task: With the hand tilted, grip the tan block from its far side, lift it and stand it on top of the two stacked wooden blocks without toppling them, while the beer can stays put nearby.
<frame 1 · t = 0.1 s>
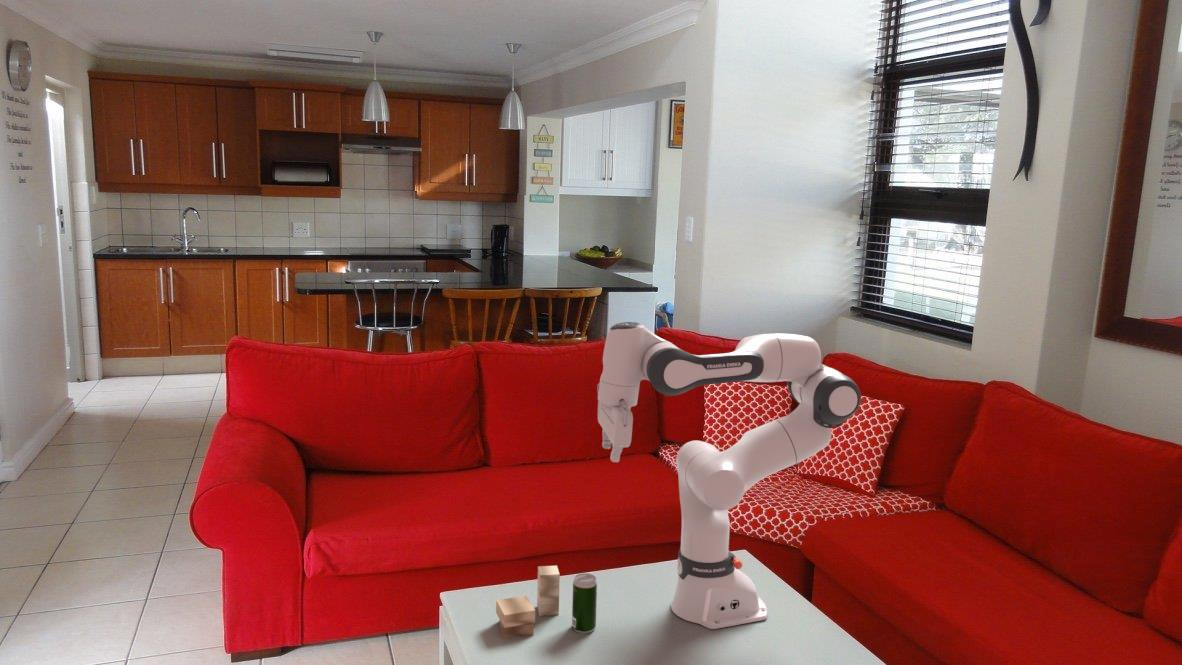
hand: (610, 454, 188), 39 cm above the table, tool pointing down, fingers open, 8 cm apart
oak block: (515, 617, 187), point 3 cm above the table, touching light brown flat block
light brown flat block: (516, 629, 188), on the table, touching oak block
tan block: (547, 610, 196), on the table
beer can: (583, 629, 188), on the table
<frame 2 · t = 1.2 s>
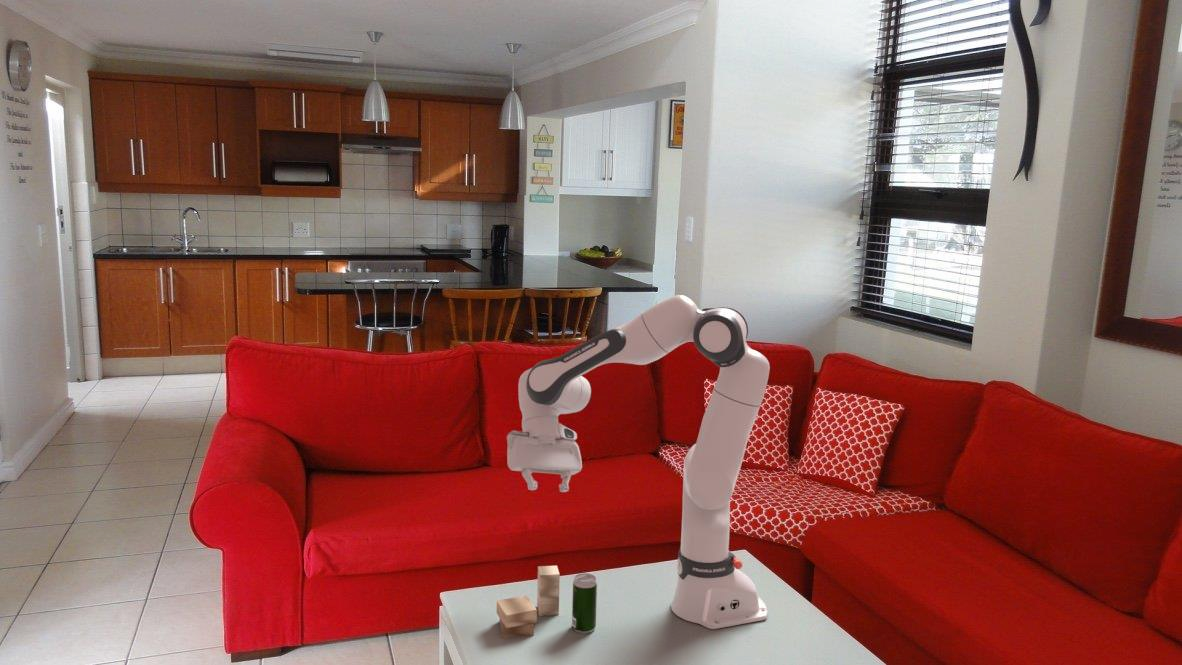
hand: (549, 490, 195), 28 cm above the table, tool tilted 35°, fingers open, 8 cm apart
nothing on the table moved.
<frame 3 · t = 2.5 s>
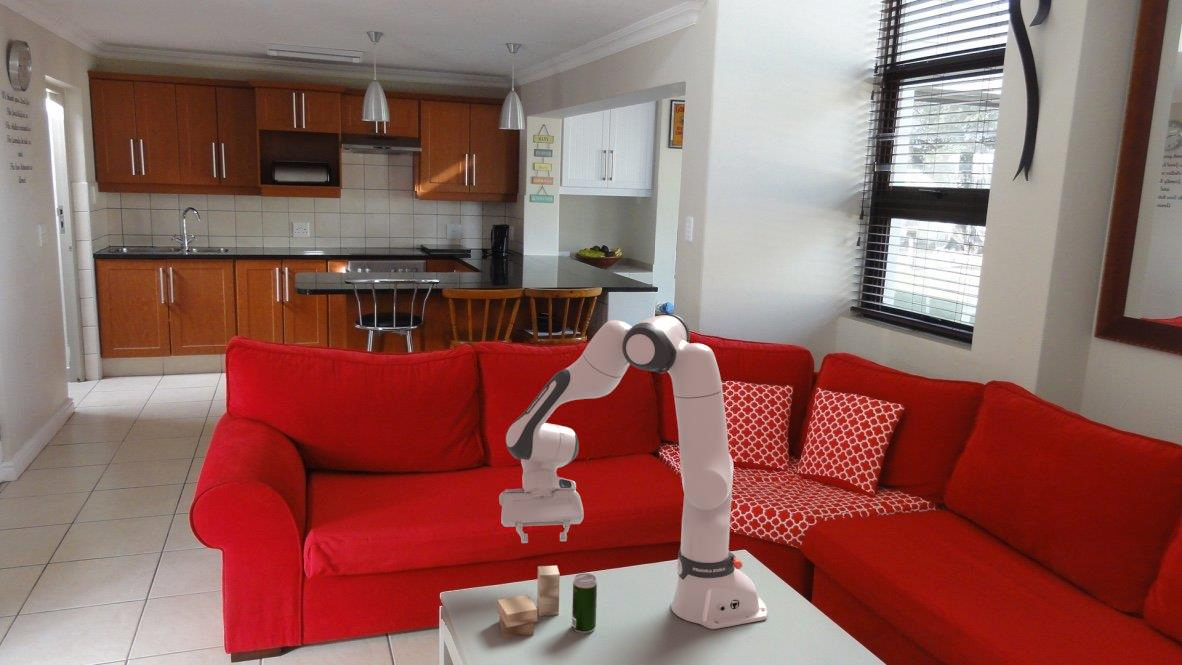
hand: (544, 541, 203), 13 cm above the table, tool tilted 45°, fingers open, 8 cm apart
oak block: (517, 616, 187), point 3 cm above the table
light brown flat block: (516, 629, 188), on the table
everything else where it was.
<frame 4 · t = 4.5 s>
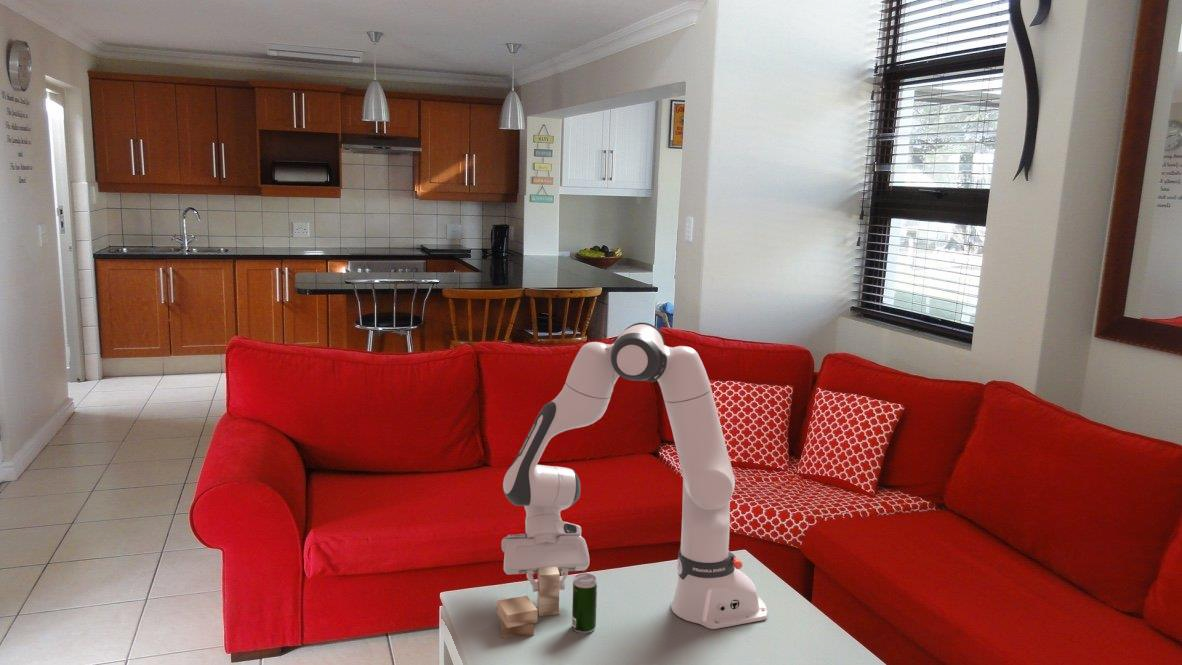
hand: (548, 590, 194), 5 cm above the table, tool tilted 45°, fingers closed on tan block, 4 cm apart
oak block: (517, 617, 187), point 3 cm above the table, touching light brown flat block
light brown flat block: (516, 629, 188), on the table, touching oak block
tan block: (547, 610, 196), on the table, touching gripper
everything else where it was.
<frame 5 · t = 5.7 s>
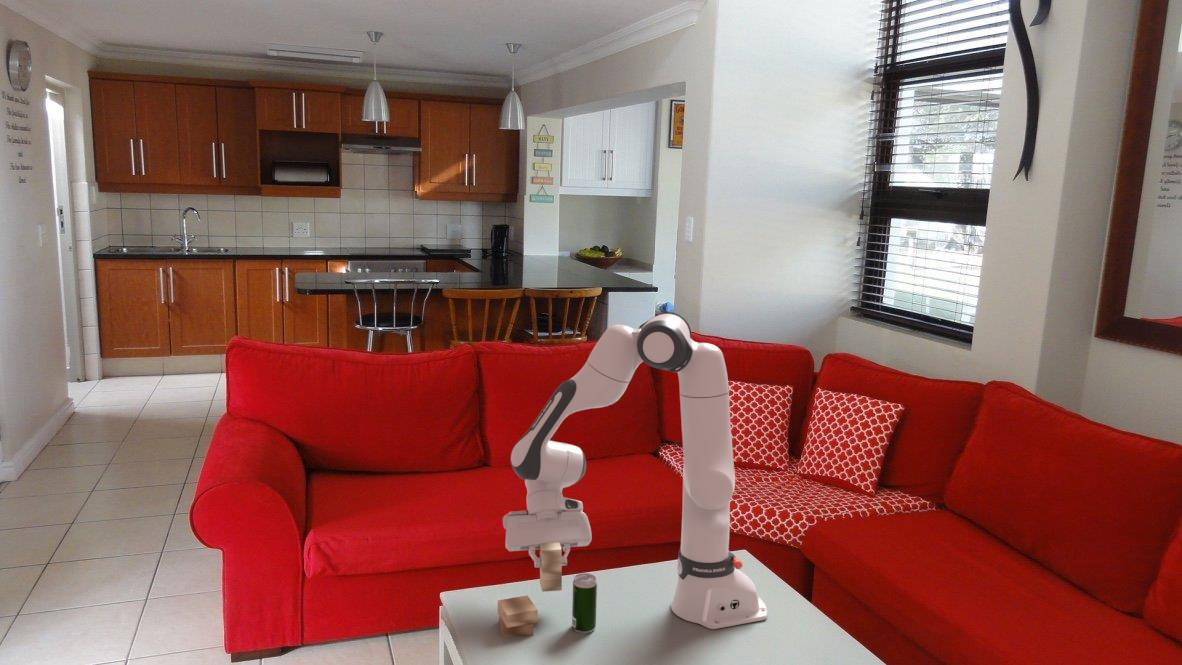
hand: (551, 565, 193), 11 cm above the table, tool tilted 45°, fingers closed on tan block, 4 cm apart
tan block: (550, 586, 195), point 6 cm above the table, touching gripper
everything else where it was.
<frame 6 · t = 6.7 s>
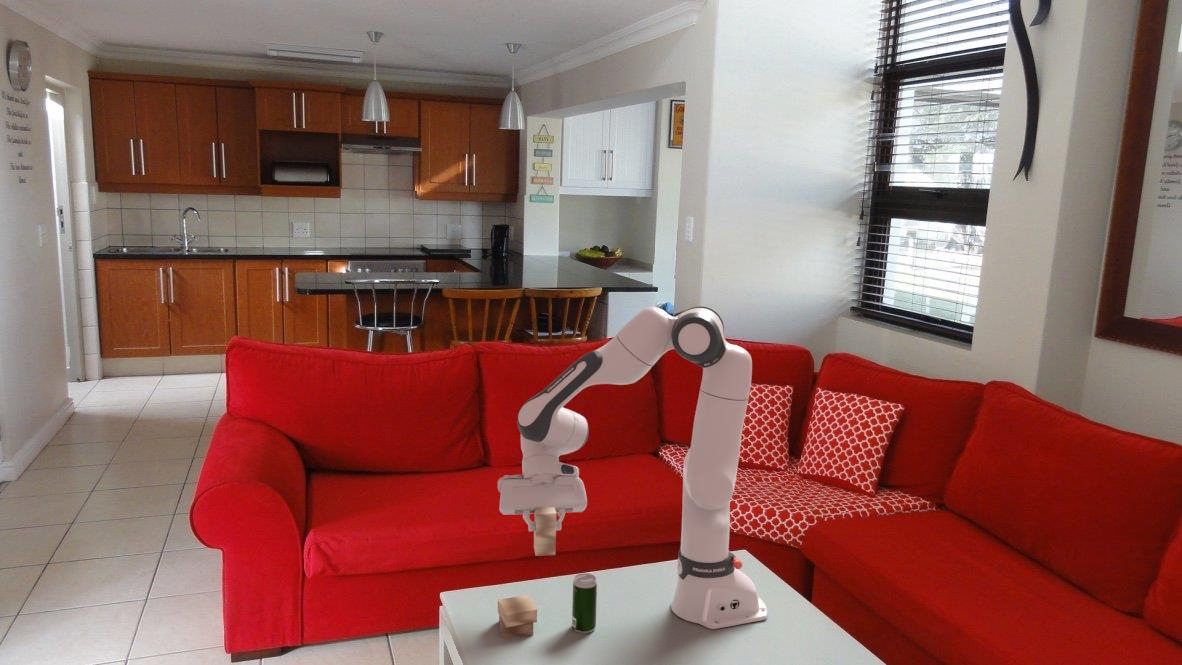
hand: (545, 530, 191), 20 cm above the table, tool tilted 45°, fingers closed on tan block, 4 cm apart
oak block: (517, 617, 187), point 3 cm above the table
light brown flat block: (515, 629, 188), on the table
tan block: (544, 551, 192), point 15 cm above the table, touching gripper
everything else where it was.
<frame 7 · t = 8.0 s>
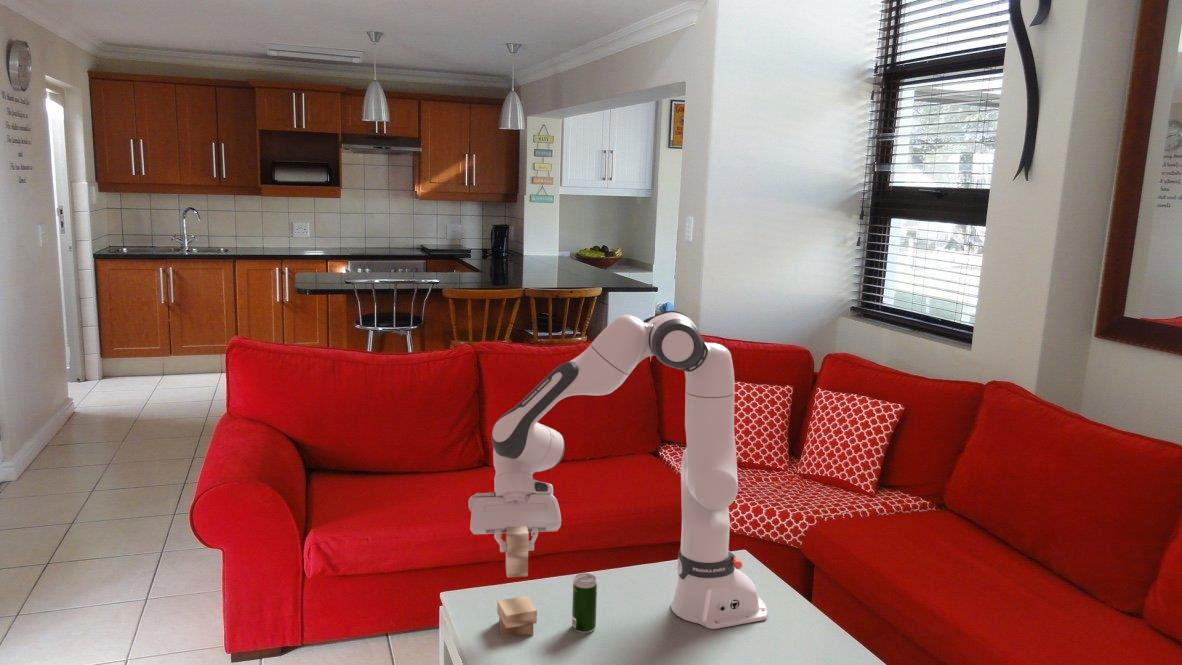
hand: (517, 550, 184), 19 cm above the table, tool tilted 45°, fingers closed on tan block, 4 cm apart
oak block: (516, 617, 187), point 3 cm above the table, touching light brown flat block
light brown flat block: (515, 630, 188), on the table, touching oak block
tan block: (516, 572, 185), point 13 cm above the table, touching gripper
everything else where it was.
when the fingers open (12 cm above the table, at t = 9.7 s): tan block drops 1 cm, point 6 cm above the table.
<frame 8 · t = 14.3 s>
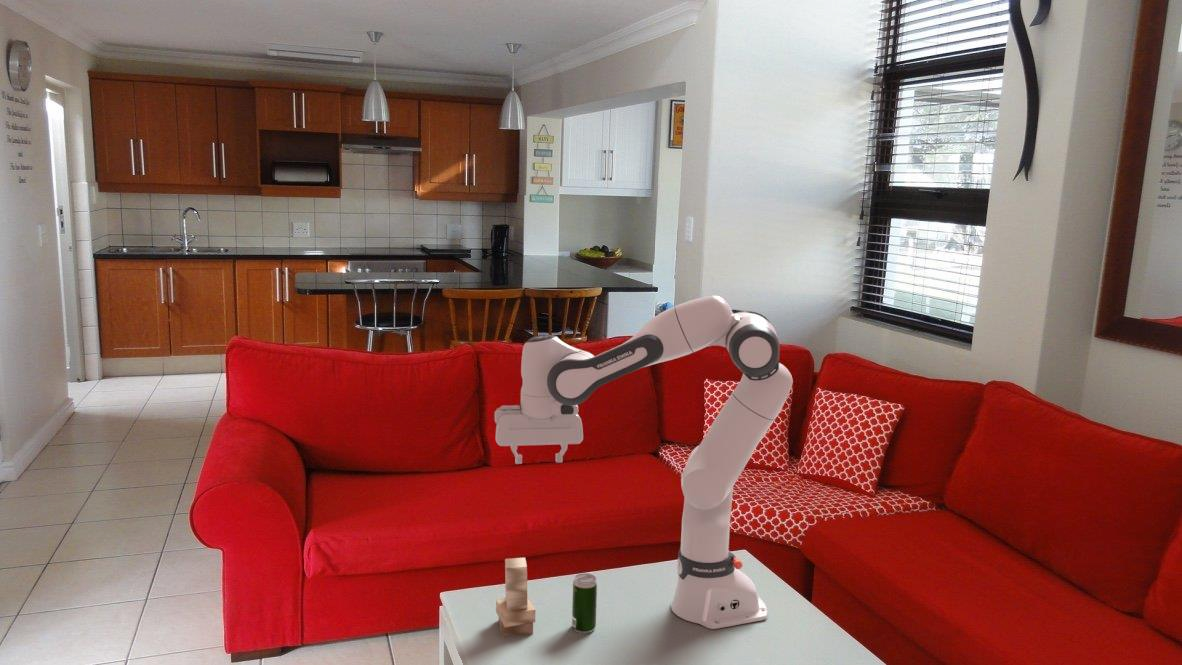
hand: (538, 462, 196), 34 cm above the table, tool pointing down, fingers open, 8 cm apart
tan block: (516, 604, 187), point 6 cm above the table
everything else where it was.
at the end: tan block 0.2 cm from the oak block (horizontally); tan block point 5.7 cm above the table; oak block moved 0.5 cm from its start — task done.
